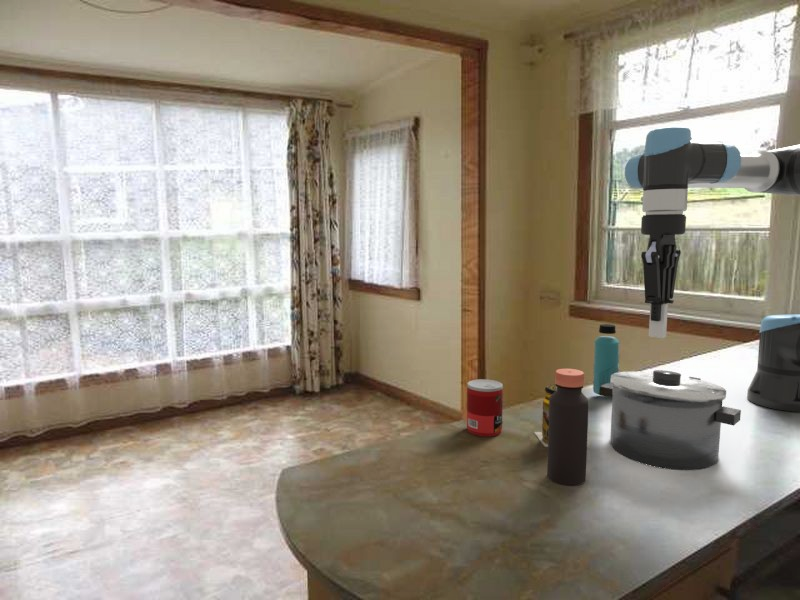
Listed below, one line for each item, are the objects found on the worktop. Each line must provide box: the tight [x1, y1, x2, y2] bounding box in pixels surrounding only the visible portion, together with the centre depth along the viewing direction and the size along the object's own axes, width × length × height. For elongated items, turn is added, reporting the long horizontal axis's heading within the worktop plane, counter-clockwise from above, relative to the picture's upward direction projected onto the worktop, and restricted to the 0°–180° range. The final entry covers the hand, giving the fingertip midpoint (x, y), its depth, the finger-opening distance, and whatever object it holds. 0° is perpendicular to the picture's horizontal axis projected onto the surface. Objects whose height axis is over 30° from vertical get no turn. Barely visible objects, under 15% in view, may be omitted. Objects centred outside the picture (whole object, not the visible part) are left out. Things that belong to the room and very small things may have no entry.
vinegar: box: [546, 368, 590, 487], centre depth 97 cm, size 7×7×20 cm
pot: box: [598, 383, 742, 471], centre depth 111 cm, size 22×26×12 cm
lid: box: [611, 369, 727, 402], centre depth 109 cm, size 22×21×3 cm
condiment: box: [533, 383, 557, 448], centre depth 116 cm, size 7×8×12 cm
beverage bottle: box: [592, 323, 621, 395], centre depth 143 cm, size 6×7×20 cm
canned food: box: [466, 378, 504, 438], centre depth 121 cm, size 8×8×11 cm
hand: (657, 336), depth 104 cm, fingers closed
